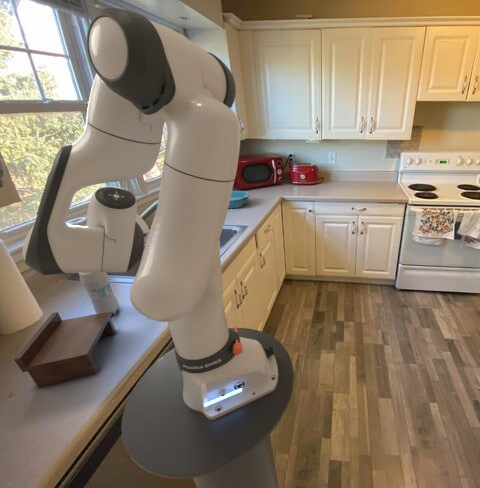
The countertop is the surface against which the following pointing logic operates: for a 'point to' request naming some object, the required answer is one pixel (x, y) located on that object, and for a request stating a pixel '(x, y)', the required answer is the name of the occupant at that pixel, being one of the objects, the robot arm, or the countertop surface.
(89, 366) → the shelf
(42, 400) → the countertop surface
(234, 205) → the casserole dish
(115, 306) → the bottle
